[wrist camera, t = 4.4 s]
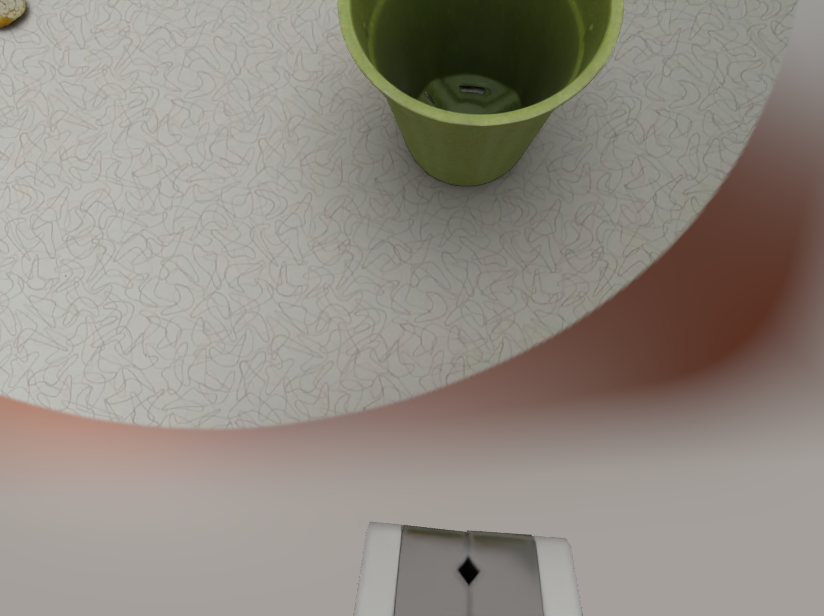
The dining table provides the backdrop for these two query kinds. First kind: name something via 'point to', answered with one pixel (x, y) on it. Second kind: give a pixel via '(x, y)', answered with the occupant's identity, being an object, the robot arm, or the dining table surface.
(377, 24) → the plant pot
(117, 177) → the dining table surface
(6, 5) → the fruit
